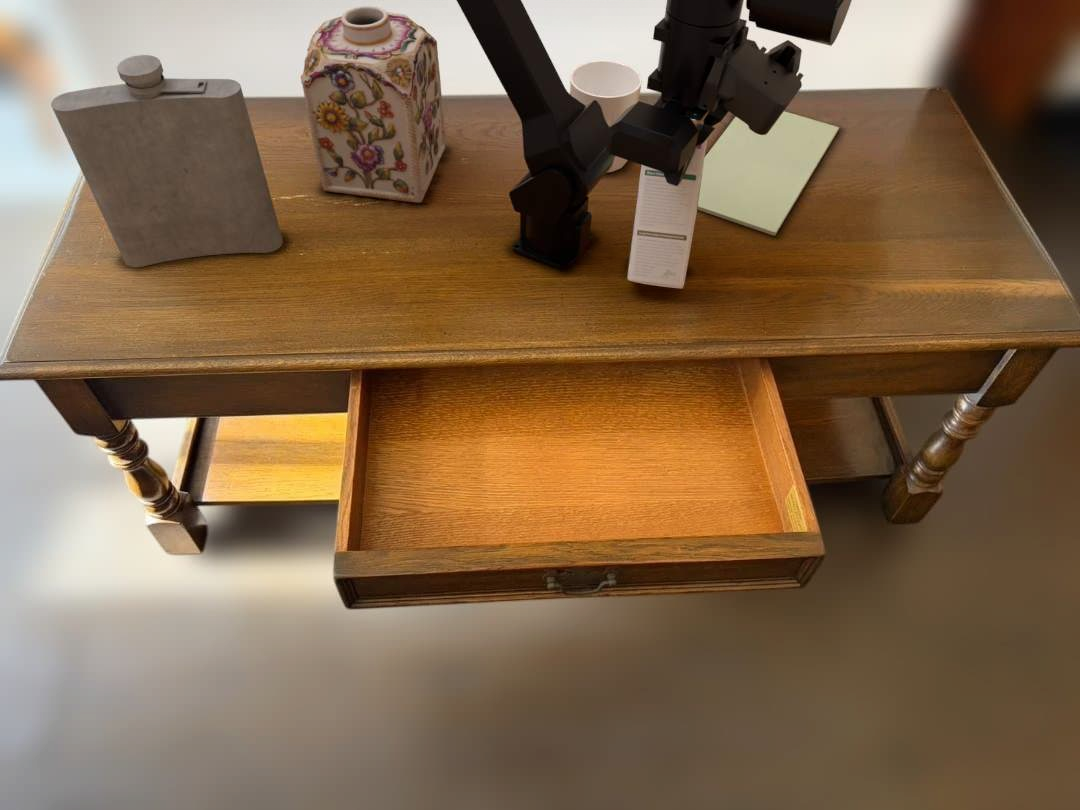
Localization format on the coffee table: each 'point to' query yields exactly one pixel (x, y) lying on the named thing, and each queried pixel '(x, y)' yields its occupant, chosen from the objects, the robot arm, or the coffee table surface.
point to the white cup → (607, 90)
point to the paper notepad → (762, 170)
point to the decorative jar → (374, 104)
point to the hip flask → (171, 164)
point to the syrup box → (665, 225)
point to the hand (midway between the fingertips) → (673, 182)
